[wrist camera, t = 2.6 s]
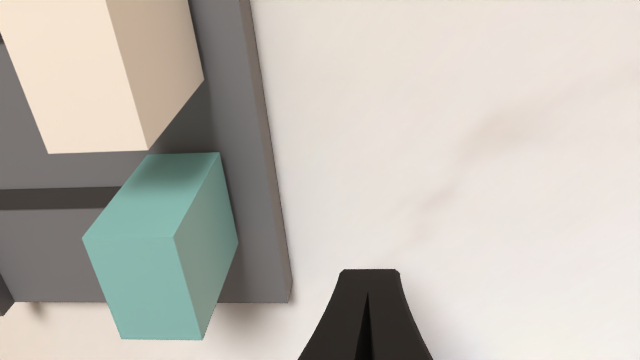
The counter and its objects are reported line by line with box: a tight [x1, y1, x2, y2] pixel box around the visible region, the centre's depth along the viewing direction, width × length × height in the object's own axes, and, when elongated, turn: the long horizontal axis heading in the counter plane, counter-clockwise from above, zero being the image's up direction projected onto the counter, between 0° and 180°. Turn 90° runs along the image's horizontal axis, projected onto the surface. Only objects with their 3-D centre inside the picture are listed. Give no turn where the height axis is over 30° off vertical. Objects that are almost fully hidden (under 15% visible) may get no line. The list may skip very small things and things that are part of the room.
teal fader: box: [82, 152, 238, 340], centre depth 16 cm, size 4×2×4 cm, turn 5°
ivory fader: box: [0, 0, 204, 154], centre depth 13 cm, size 4×2×4 cm, turn 5°
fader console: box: [0, 0, 292, 316], centre depth 18 cm, size 14×12×2 cm
